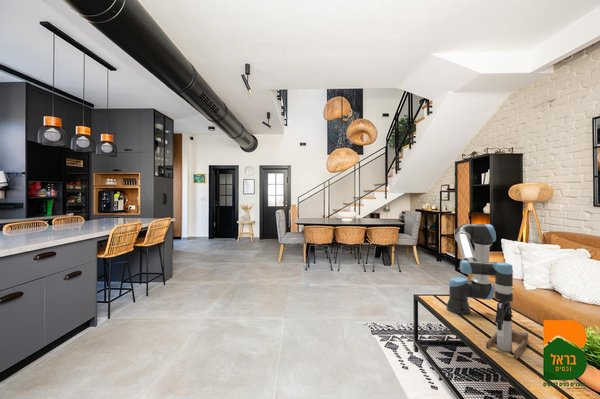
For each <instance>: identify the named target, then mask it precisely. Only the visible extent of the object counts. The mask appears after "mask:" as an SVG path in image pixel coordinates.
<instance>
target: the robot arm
mask: <svg viewBox="0 0 600 399" xmlns="http://www.w3.org/2000/svg"><path fill="white" fill-rule="evenodd" d="M453 236H454V239H455V242H456V243H457V245H458V249H459V253H460V256H461V259H462V260H460V261H459V270H460V272H461V273H462V274H467V275H473V277H471V278H470V280H468V278H466V277H458V276H457V277H452V278H450V279H449V283H448V286H449V293H448V294H449V298H448V300H447V303H446V310H448V311H449V312H451V313H454V314H457V315H470V314H471V312H472V311H471V310H472V309H471V307H470V304H469V298H470V299H478V300H483V301H484V300H487V301H489V300H492V299H493V298H495V299H497V300H499V302H498V303H496V305H497V306H496V314H495V320H494V323H495V324H496V333H497V335H499V336H502V337H504V324H503V320H504V315H505V313H507V314H509V315H511V316H512V317H514V315H513V312H512V306H511V304H512V303H511V302H513V301H514V295H513V293H514V290H515V288H514V287H513V283H514V282H513V281H514V269H513V265H512V264H510V263H509V262H498V261H491V262H490V249H491V248H490V247H491V246H492V245H493V243H494V242H496V241H497V234H496V230H495V227H494V226H493V224H489V223H463V224H461V225H459V226H458V227H457V228H456V229H455V230H454V232H453ZM471 241H472V242H471ZM472 244H473V245H474V248H473V245H472ZM491 276H492V277H494V284H493V283H492V282H491V279H489V277H491Z"/></svg>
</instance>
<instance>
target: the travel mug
mask: <svg viewBox="0 0 600 399" xmlns="http://www.w3.org/2000/svg"><path fill="white" fill-rule="evenodd" d="M511 315H512V314H511ZM511 315H509V314H507V313H505V315H504V320H503V324H504V337H502V336H499V335H497V341H496V349H498V350H501V351H504V352H506V353H509V354H511V353H512V352H513V347H512V346H513V344H512V343H513V341H512V330H513V327H512V325H513V323H512V322H513V321H512V316H511Z"/></svg>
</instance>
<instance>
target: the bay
mask: <svg viewBox="0 0 600 399" xmlns="http://www.w3.org/2000/svg"><path fill="white" fill-rule="evenodd" d="M528 337H529V332H527V331H525V333H524V332H520V331H517V330H514V329H512V342H515V343H518V344H519V345H518V347H517V348H515V350H514V352H513V354H511V353H506V352H504V351H501V350H498V349H497V347H496V348H495V347H493V346H494V345H495V343H497V332H495V333H494V334H493V335H492V337H490V338H489V340H487V341H486V343H485V345H486V346H485V347H486V348H485V349H487V350H490V351H492V350H493V352H495V351H496V352H495V353H498V354H500V353H501V354H500V355H503V356H505V357H508V358H512V359H514V360H518V359H519V357H520V356H521V354H522V353H523V351H524V350H525V349H526V347H527V346H528V342H529V338H528Z"/></svg>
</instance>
